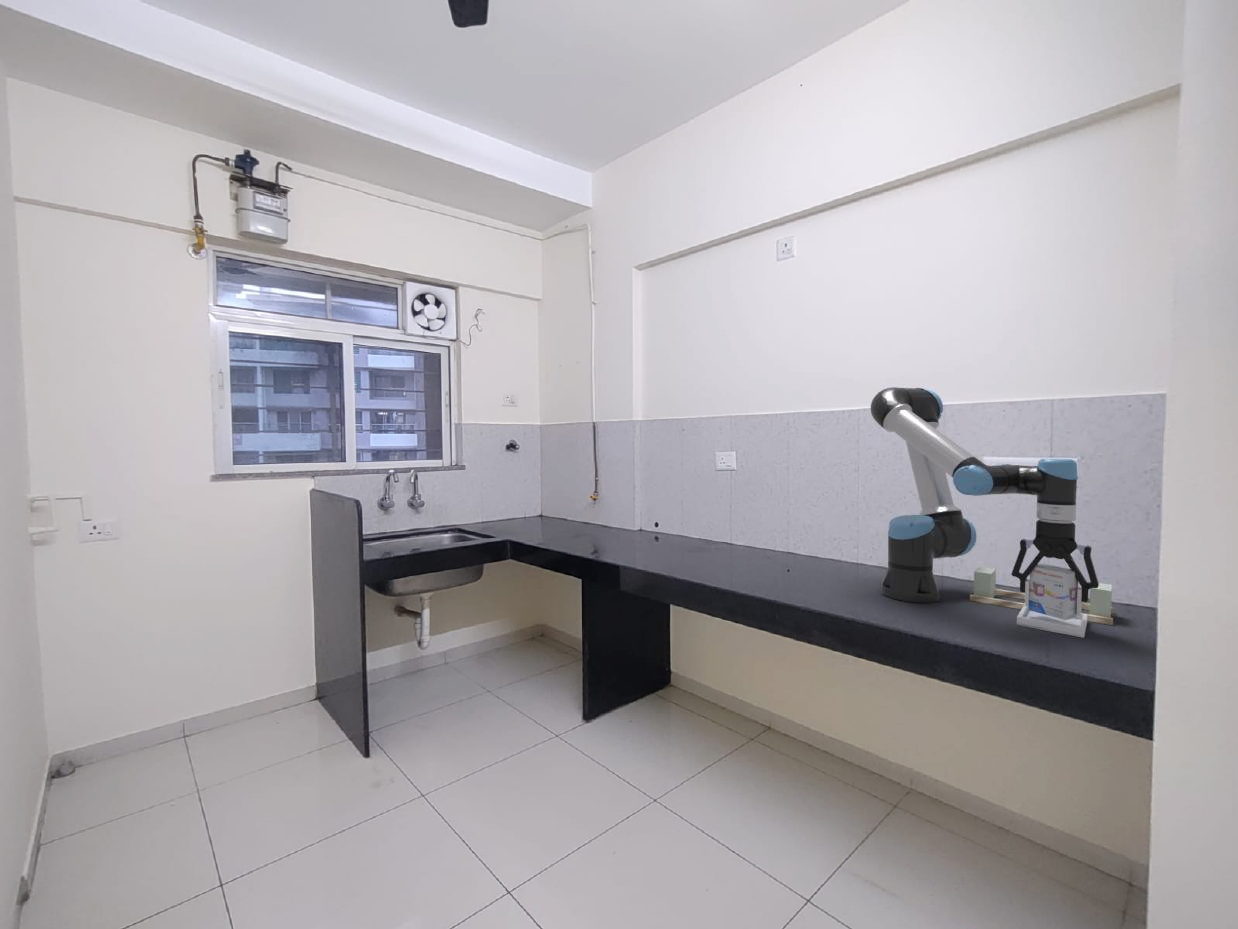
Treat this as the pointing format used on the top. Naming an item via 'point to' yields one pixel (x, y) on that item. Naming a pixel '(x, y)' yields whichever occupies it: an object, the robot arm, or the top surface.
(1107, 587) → the block
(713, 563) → the top surface
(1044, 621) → the tray
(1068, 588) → the ink box
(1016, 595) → the rail rack
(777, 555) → the top surface
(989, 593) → the block
